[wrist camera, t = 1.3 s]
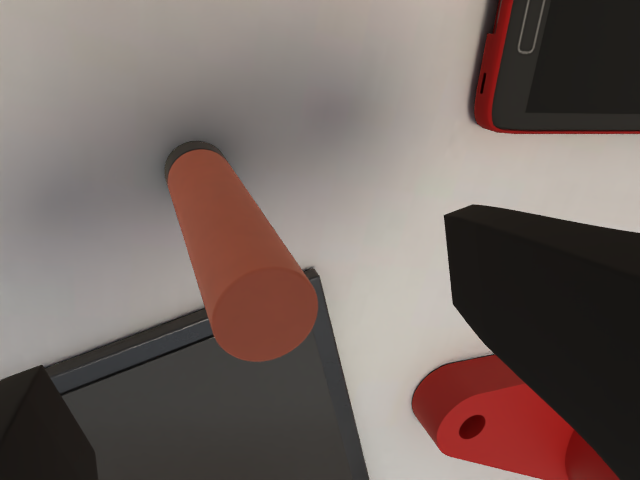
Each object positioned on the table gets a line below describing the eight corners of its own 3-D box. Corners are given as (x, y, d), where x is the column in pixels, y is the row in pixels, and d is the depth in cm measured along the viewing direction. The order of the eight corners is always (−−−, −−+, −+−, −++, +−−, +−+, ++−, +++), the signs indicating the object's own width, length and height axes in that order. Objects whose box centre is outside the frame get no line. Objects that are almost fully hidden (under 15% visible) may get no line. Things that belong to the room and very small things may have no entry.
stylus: (176, 208, 18) (230, 379, 10) (155, 151, 17) (196, 292, 9) (234, 188, 18) (328, 338, 10) (217, 132, 17) (306, 251, 9)
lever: (695, 333, 31) (825, 409, 26) (620, 458, 34) (722, 551, 29) (450, 306, 24) (559, 406, 18) (381, 470, 27) (456, 601, 21)
